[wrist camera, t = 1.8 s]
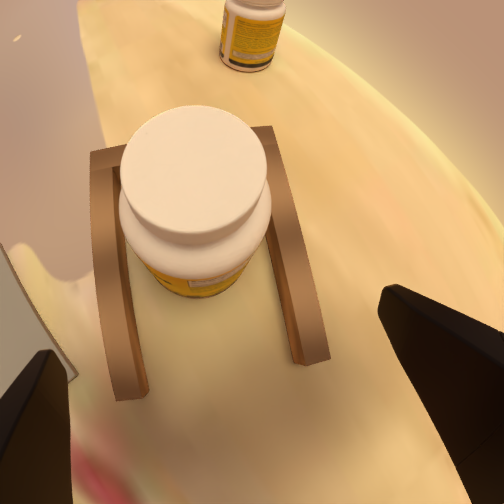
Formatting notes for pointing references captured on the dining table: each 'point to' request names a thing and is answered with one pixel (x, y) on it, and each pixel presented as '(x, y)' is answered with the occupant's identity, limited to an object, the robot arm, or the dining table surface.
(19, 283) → the coaster
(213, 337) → the dining table surface
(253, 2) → the supplement bottle
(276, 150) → the open wooden u-frame
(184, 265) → the pill bottle
